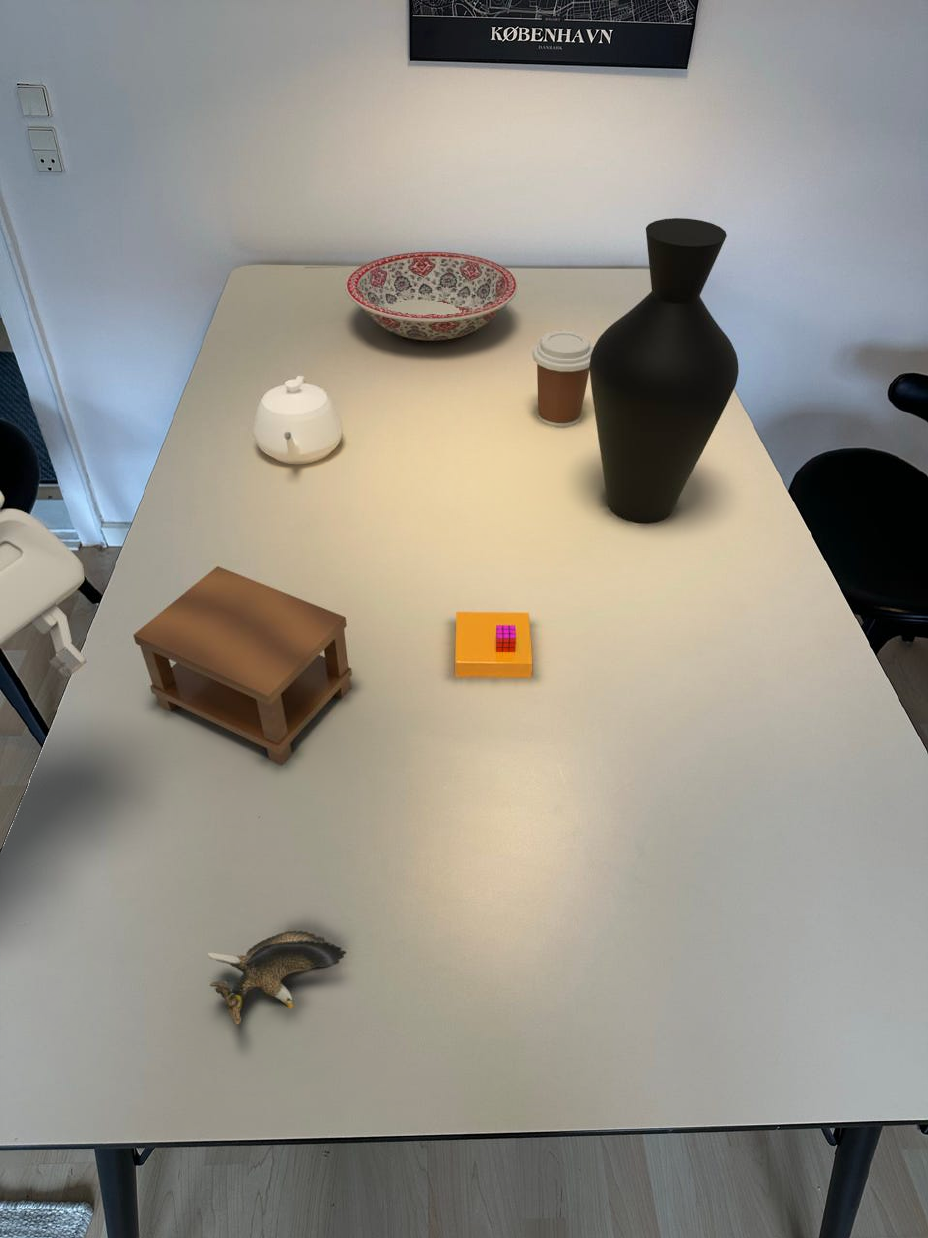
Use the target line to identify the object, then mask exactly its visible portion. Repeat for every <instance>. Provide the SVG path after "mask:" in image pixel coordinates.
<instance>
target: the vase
mask: <svg viewBox="0 0 928 1238" xmlns="http://www.w3.org/2000/svg"><path fill="white" fill-rule="evenodd" d="M645 235H646V236H645V237H646V245H647V246H646V247H647V255H648V256H647V257H648V266H649V267H648V268H649V275H650V284H651V291H650V292H649V293H648V294H647V295H646V296H645V297H644V298H643V299H642V300H641V301H640V302H638V303H637V304H636V305H634V307H633V308H631V309H630V310H629V311H627V313H625V314H624V315H623V316H621V317H620V318H619V319H617V320H615V322H613V323H612V324H611V325H610V326H608V327H607V328H606V329H605V331H604V332H603V333H602V334H601V335H600V336H599V337H598V339H597V341H596V342H595V344H594V346H593V347H592V348H593V351H592V353H591V358H590V365H589V369H590V370H589V378H590V387H591V395H592V402H593V411H594V416H595V417H594V418H595V423H596V430H597V431H596V432H597V439H598V445H599V452H600V459H601V465H602V466H601V467H602V473H603V478H604V486H605V487H604V488H605V494H606V502H607V507H608V508H609V510H610V512H612V513H613V514H614V515H615V516H616V517H618V518H619V519H622V520H624V521H626V522H631V523H634V524H644V525H645V524H647V525H648V524H649V525H650V524H654V523H655V524H656V523H659V522H662V521H664V520H665V519H667V518H668V517H669V516H670V515H671V514H672V512H673V510H674V508H675V506H676V504H677V502H678V500H679V498H680V496H681V494H682V492H683V490H684V488H685V486H686V485H687V483H688V481H689V479H690V477H691V475H692V474H693V471H694V469H695V468H696V465H697V463H698V461H700V458H701V456H702V454H703V452H704V450H705V448H706V446H707V444H708V442H709V441H710V439H711V437H712V434H713V433H714V431H715V429H716V427H717V425H718V422H719V421H720V419H721V417H722V415H723V414H724V411H725V408H726V407H727V405H728V403H729V400H730V399H731V396H732V394H733V392H734V390H735V388H736V386H737V382H738V379H739V371H740V370H739V359H738V356H737V352H736V350H735V347H734V346H733V343H732V342H731V340H730V338H729V337H728V336H727V335H726V333H725V332H724V331H723V329H722V328H721V326H720V325H719V324H718V322H717V321H716V320H715V319H714V317H713V315H712V314H711V312H710V311H709V310H708V307H707V306H706V305H705V302H704V301H703V300H702V298H701V294H702V292H703V289H704V287H705V285H706V283H707V281H708V279H709V276H710V274H711V272H712V269H713V267H714V265H715V263H716V261H717V258H718V257H719V254H720V252H721V250H722V249H723V245H724V243H725V241H726V239H727V236H728V235H727V232H726V230H724V229H723V227H720V226H718V225H716V224H714V223H712V222H708V221H705V220H701V219H694V218H684V217H683V218H682V217H680V218H679V217H674V218H664V219H658V220H654V221H652V222H650V223H648V224H647V225H646V227H645Z"/></svg>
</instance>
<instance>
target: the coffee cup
mask: <svg viewBox="0 0 928 1238" xmlns="http://www.w3.org/2000/svg"><path fill="white" fill-rule="evenodd" d="M593 348H594V347H593V346H592V345H591V340H590V339H589V338H588V337H587V336H585V335H584V334H582V333H579V332H577V331H572V330H555V331H550V332H549V333H546V334H544V335H543V336H542V338H541V339H540V342H538V343H537V344H536V345H535V346H534V347H533V349H532V359H533V361H534V362H535V363H536V373H537V374H536V375H537V376H536V377H537V418H538V420H539V421H540V423H543V424H545V425H548V426H551V427H554V428H568V427H572V426H574V425H576V424H578V423H579V422H580V420H581V416H582V411H583V405H584V400H585V395H586V390H587V385H588V380H589V376H590V369H589V365H590V358H591V353H592V351H593Z"/></svg>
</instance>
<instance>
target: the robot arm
mask: <svg viewBox="0 0 928 1238" xmlns="http://www.w3.org/2000/svg"><path fill="white" fill-rule="evenodd" d="M4 502H5V496H4V494H3V492H2V491H1V490H0V648H2V647H4V645H6V644H7V643H8V642H10V641H11V640H12V639H14V638H15V637H16V636H18V635H19V634H20V633H22V632H23V631H25V629H27V628H29V627H30V626H31V625H33V626H34V627H35V628H36V629H37V631H38V632H40V633H41V634H42V635H45V634H47V633H48V632H50V636H51V639H52V643H53V646H54V650H55V656H53V657H52V658H51V659H50V660H48V662H49V663H50V665H51V666H52V667H53V668H55V669H57V670H58V672H59V674H60V675H61V676H63V677H64V678H65V679H69V678H70V677H71V676H72V675H73V674H75V673H76V672H77V671H78V670H80V669H81V668H82V667H83V666H84V665H86V664H87V659H86V657H85V656H84V655H83V654H82V653H81V652H80V650H78V649H77V648H76V646H75V645H74V644H73V640H72V635H71V631H70V626H69V621H68V618H67V617H68V616H67V615H66V613H64V612H63V611H62V610H61V609H60V608H59V607H58V605H59V604H60V603H62V602H63V601H64V600H66V599H67V598H69V597H70V596H71V595H73V594H74V592H76V591H77V590H78V589H79V588H80V587H81V586H82V584H83V583H84V582H85V570H84V569H85V568H84V564H83V563H82V561H81V560H80V559H79V558H78V557H77V555H76V554H75V553H74V552H73V551H72V550H71V548H69V547H68V545H66V544H65V542H63V541H62V540H61V539H60V538H59V537H58V536H56V535H55V533H53V531H51V530H50V529H49V528H48V527H47V526H45V525H44V524H43V523H42V522H41V521H40V520H39V519H37V518H35V516H33V515H31V514H29V513H28V512H25V511H24V510H21V509H17V508H3V505H4V504H5V503H4ZM2 508H3V509H2Z"/></svg>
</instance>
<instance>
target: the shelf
mask: <svg viewBox="0 0 928 1238" xmlns="http://www.w3.org/2000/svg"><path fill="white" fill-rule="evenodd" d="M347 626H348V624H347V617H346V616H344V615H341V614H339V613H336V612H334V611H331V610H328V609H326V608H324V607H322V606H319V605H317V604H314V603H312V602H309V601H306V600H304V599H301V598H299V597H296V596H294V595H292V594H289V593H286V592H284V591H282V590H279V589H277V588H274V587H271V586H270V585H267V584H265V583H261V582H259V581H256V580H254V579H251V578H249V577H246V576H244V575H242V574H238V573H236V572H234V571H231V570H229V569H226V568H224V567H221V566H218V565H217V566H216V567H214V568H213V569H212V570H210V571H209V572H208V573H207V574H206V575H204V576H203V577H202V578H201V579H200V580H198V581H197V582H196V583H195V584H193V585H192V586H191V587H190V588H189V589H187V590H186V591H185V592H184V593H182V594H181V595H180V596H179V597H178V598H176V599H175V600H174V601H173V602H171V604H169V605H168V606H166V608H164V609H163V610H162V611H161V612H159V613H158V614H157V615H155V616H154V617H153V618H152V619H151V620H150V621H148V622H147V623H146V624H145V625H144V626H142V627H141V628H140V629H138V630H137V631H136V632H135V633H134V634H132V635H133V639H134V642H135V645H138V646H139V647H140V650H141V653H142V657H143V659H144V663H145V666H146V669H147V672H148V675H149V678H150V682H151V685H150V686H149V688H150V691H151V694H153V695H155V698H156V699H157V702H158V706H159V707H161V708H163V709H166V710H167V711H173V710H174V709H175V708H176V707H177V706H178V707H180V708H182V709H183V710H185V711H188V712H190V713H193V714H194V715H196V716H199V717H200V718H203V719H205V720H207V721H209V722H211V723H213V724H216V725H218V726H220V727H221V728H224V729H226V730H228V731H230V732H232V733H234V734H236V735H238V736H240V737H243V738H245V739H247V740H249V741H251V742H252V743H255V744H256V745H259V746H261V747H264V748H265V749H266V752H267V757H268V759H269V760H271V761H272V762H275V763H276V764H279V765H280V766H283V765H284V764H285V762H286V761H287V760H288V759H289V758H290V757H291V756H292V754H293V752H292V746H291V743H292V742H293V740H295V738H296V737H297V736H298V735H299V734H300V733H301V732H302V731H303V730H304V728H306V727H307V725H308V724H309V723H310V722H312V720H313V719H314V717H315V716H316V715H317V714H318V713H319V712H320V711H321V710H322V709H323V708H324V707H325V706H326V704H328V702H329V701H330V700H331V699H332V698H333V697H334V696H336V697H339V698H341V699H343V698H344V697H345V696H346V694H347V693H348V692H349V691H350V690H351V689H352V688H351V677H352V675H353V671H352V668H351V667H349V661H348V651H347V650H348V649H347V642H346V641H347V640H346V633H345V629H346V628H347ZM322 652H323V654H324V656H323V655H321V654H322ZM171 661H172V662H175V663H174V665H172V664H171Z"/></svg>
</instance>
